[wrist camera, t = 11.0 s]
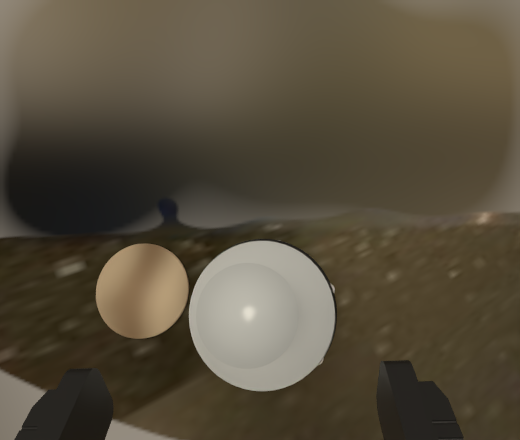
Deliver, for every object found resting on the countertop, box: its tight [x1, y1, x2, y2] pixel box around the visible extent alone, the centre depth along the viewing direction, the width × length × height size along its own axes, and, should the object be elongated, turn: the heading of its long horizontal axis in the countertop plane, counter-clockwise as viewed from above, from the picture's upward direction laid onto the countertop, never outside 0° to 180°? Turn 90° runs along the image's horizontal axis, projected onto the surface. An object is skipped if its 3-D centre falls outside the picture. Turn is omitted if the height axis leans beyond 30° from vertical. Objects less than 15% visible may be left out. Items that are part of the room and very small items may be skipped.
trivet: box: [96, 244, 189, 339], centre depth 34 cm, size 8×8×1 cm
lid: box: [189, 241, 335, 391], centre depth 18 cm, size 8×8×8 cm
